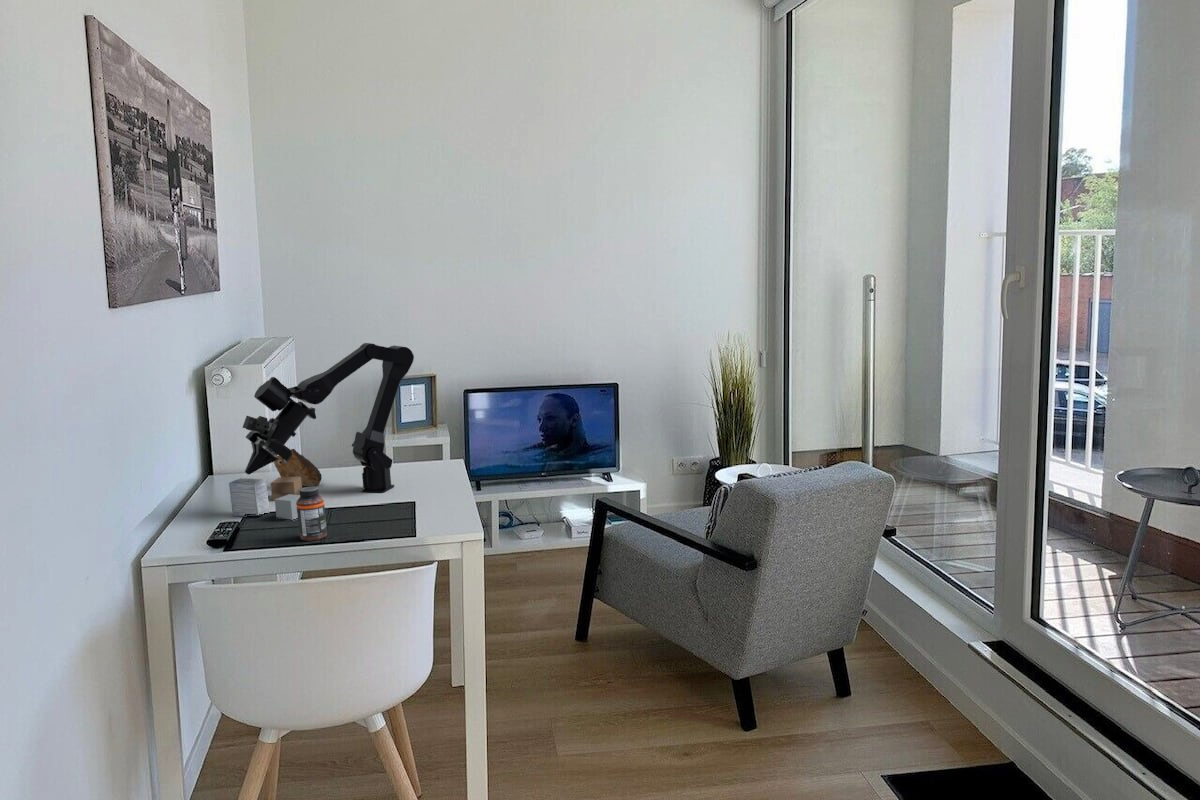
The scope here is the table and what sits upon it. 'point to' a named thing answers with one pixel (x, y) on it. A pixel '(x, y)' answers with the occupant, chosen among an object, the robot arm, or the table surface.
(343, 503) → the table surface
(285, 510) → the slate-grey block
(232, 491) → the medicine box
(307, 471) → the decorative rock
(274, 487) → the walnut block
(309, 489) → the supplement bottle
